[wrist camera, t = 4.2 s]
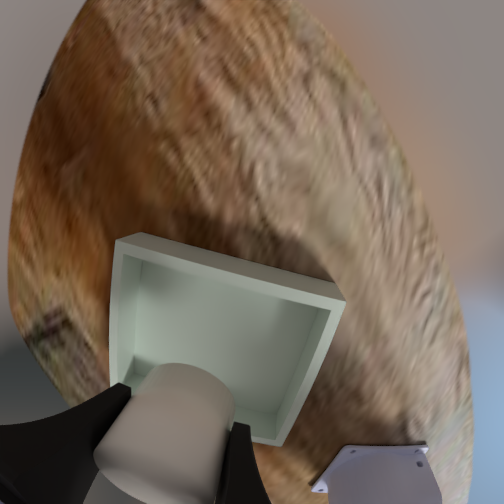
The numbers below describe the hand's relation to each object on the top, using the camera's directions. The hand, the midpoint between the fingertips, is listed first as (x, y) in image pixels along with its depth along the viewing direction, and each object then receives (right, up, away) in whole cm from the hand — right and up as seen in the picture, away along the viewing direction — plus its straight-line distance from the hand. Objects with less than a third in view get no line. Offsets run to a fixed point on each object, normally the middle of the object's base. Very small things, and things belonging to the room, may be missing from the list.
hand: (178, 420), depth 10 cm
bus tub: (+1, +1, +7) cm, 8 cm away
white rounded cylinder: (0, 0, +1) cm, 1 cm away
